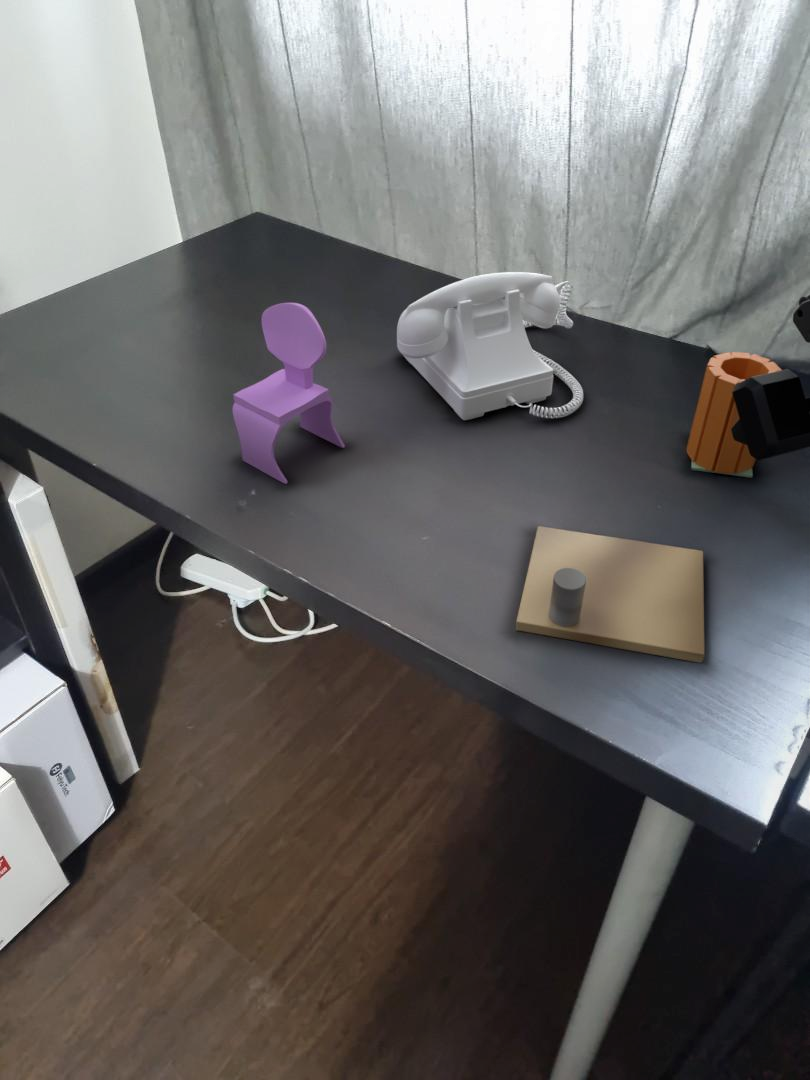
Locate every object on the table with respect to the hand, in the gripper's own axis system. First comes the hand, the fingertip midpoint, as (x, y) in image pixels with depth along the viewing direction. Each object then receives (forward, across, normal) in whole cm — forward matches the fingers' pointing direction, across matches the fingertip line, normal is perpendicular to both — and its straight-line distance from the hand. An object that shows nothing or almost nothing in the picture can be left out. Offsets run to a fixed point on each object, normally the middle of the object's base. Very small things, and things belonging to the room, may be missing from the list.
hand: (777, 423), depth 73 cm
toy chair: (+20, +40, -10) cm, 46 cm away
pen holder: (+9, 0, +1) cm, 9 cm away
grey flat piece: (+9, 0, +1) cm, 9 cm away
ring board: (0, +20, +10) cm, 22 cm away
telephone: (+25, +13, -14) cm, 32 cm away
